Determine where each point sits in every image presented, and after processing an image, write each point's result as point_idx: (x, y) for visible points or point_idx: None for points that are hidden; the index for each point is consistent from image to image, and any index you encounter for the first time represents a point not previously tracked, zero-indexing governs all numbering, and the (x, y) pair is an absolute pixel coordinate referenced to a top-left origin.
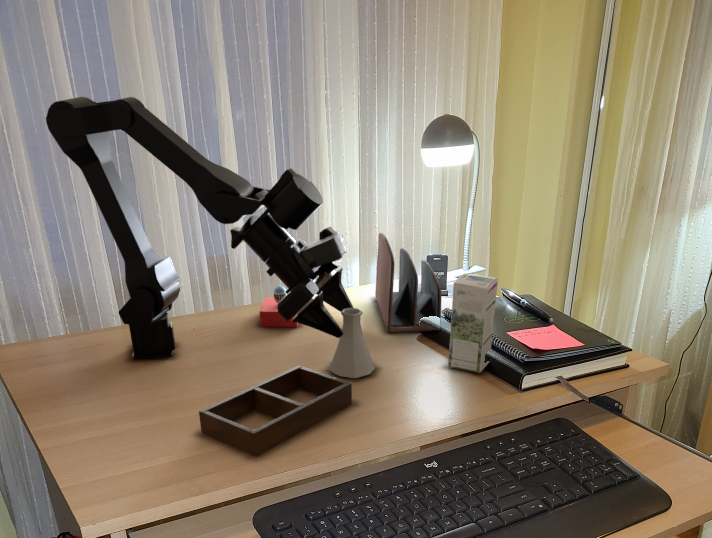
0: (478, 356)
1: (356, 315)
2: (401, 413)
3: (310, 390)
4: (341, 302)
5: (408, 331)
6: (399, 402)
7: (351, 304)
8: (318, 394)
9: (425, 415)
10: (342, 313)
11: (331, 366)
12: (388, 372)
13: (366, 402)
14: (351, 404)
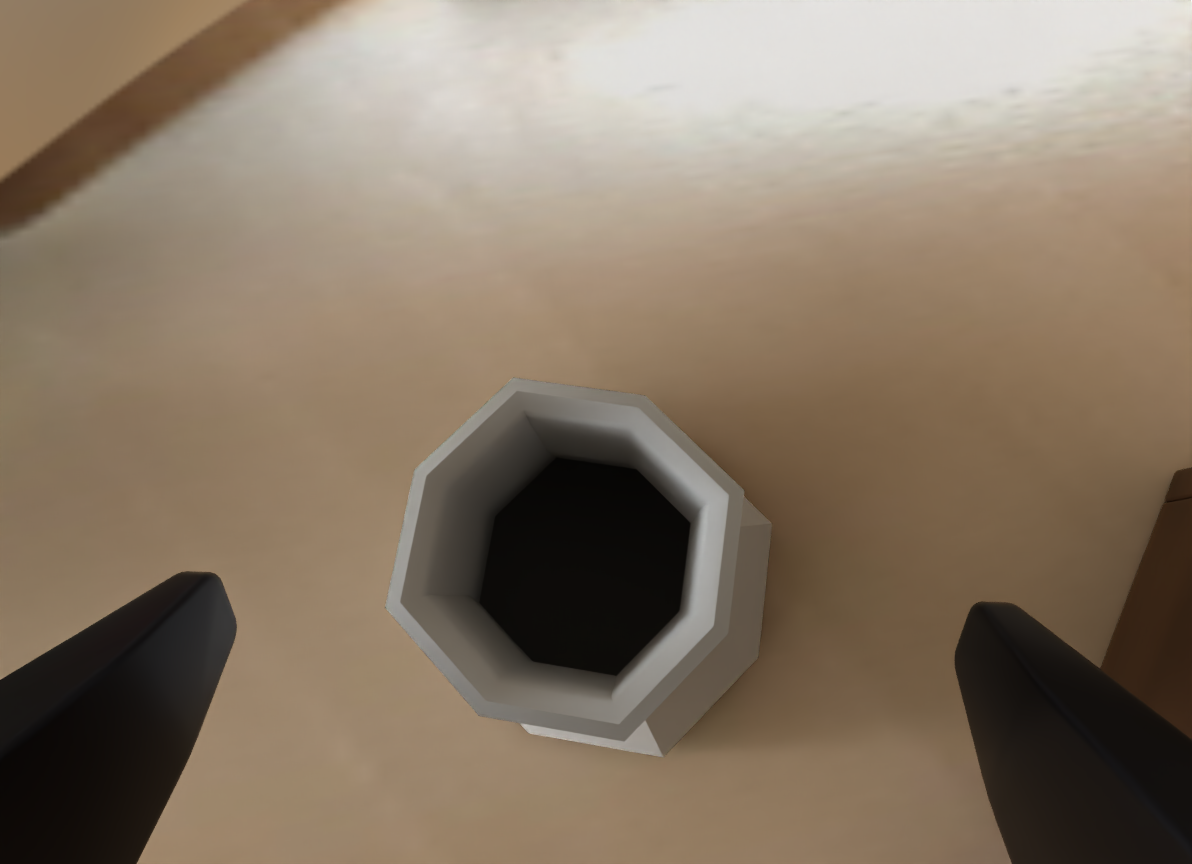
0: None
1: (695, 445)
2: (1182, 159)
3: None
4: (39, 845)
5: None
6: (1033, 192)
7: (66, 654)
8: None
9: (1157, 36)
10: (657, 703)
11: (672, 738)
12: (592, 326)
13: (1104, 384)
14: (1178, 473)
